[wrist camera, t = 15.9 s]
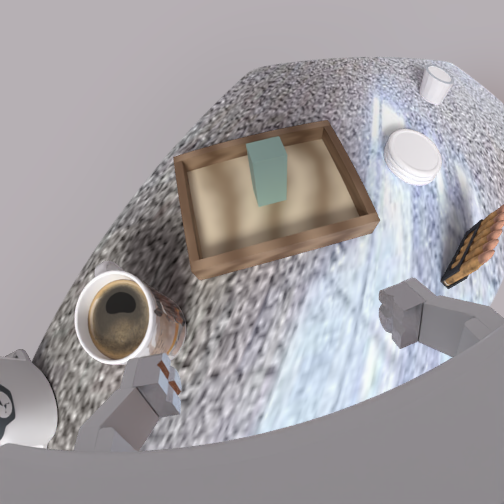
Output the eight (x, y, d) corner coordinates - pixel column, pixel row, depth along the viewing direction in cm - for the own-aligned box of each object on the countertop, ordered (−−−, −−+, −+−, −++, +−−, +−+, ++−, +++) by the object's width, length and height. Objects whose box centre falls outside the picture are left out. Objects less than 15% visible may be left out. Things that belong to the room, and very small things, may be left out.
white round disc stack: (386, 133, 46) (391, 119, 42) (435, 152, 44) (442, 140, 40) (379, 174, 43) (385, 160, 39) (433, 195, 41) (442, 184, 37)
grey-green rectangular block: (258, 207, 41) (252, 162, 32) (253, 189, 42) (245, 143, 33) (286, 199, 41) (287, 154, 32) (280, 182, 42) (279, 135, 33)
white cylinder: (449, 105, 48) (460, 83, 41) (429, 107, 48) (439, 84, 41) (431, 86, 50) (440, 64, 44) (411, 87, 50) (419, 63, 44)
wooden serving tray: (200, 280, 39) (191, 271, 35) (180, 172, 46) (173, 157, 42) (371, 233, 39) (380, 220, 35) (325, 136, 46) (327, 120, 42)
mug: (112, 356, 36) (63, 350, 26) (126, 274, 40) (84, 246, 30) (181, 372, 35) (145, 374, 24) (194, 282, 39) (164, 252, 29)
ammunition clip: (466, 231, 38) (507, 194, 27) (473, 239, 37) (515, 203, 26) (439, 281, 36) (486, 251, 25) (448, 289, 35) (496, 262, 24)
